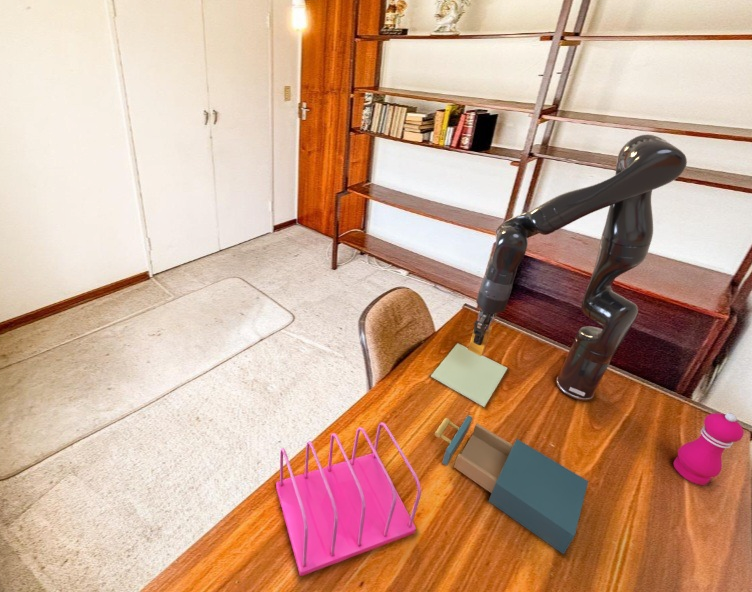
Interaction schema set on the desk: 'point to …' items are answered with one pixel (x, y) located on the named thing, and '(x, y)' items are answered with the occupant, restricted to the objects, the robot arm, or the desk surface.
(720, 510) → the desk surface
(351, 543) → the file sorter
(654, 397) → the desk surface
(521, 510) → the cabinet
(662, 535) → the desk surface
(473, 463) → the drawer
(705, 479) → the pepper mill
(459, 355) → the mat
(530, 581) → the desk surface
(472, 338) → the block
